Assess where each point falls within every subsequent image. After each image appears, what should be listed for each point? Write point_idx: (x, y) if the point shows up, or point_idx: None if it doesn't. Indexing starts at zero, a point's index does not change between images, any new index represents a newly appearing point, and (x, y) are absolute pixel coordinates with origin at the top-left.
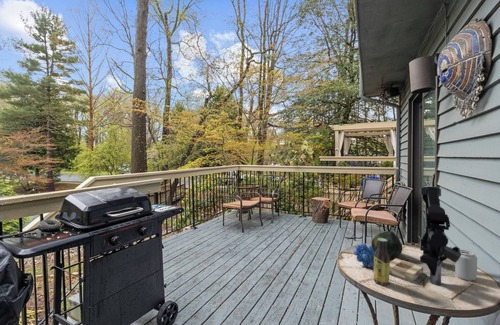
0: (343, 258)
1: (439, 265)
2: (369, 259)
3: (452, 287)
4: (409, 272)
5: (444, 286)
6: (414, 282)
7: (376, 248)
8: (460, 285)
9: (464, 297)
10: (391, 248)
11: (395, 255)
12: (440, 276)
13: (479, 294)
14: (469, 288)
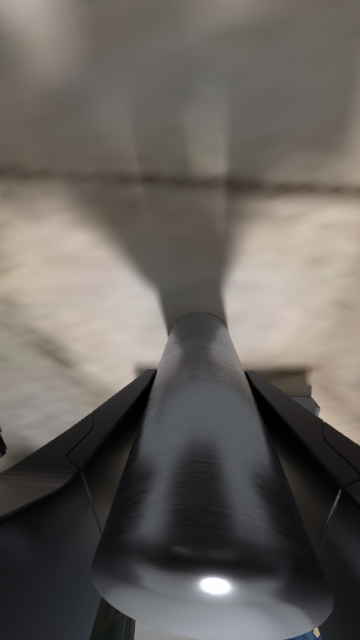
0: None
1: (257, 457)
2: (308, 633)
3: (176, 250)
4: None
5: (204, 290)
6: (315, 414)
7: (133, 634)
8: (96, 223)
9: (285, 127)
10: (90, 635)
11: None
12: (209, 338)
13: (124, 53)
14: (86, 159)
